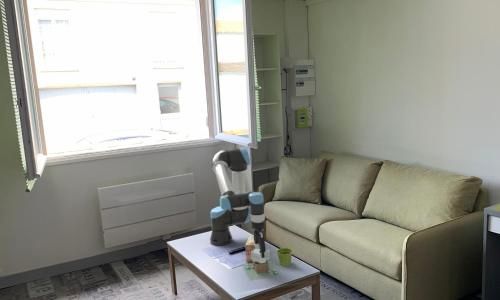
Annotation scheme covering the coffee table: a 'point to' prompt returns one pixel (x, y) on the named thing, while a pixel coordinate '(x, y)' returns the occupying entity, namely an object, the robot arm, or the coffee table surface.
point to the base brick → (261, 267)
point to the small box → (256, 255)
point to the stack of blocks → (249, 248)
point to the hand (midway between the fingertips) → (260, 258)
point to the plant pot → (284, 256)
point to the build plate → (253, 275)
